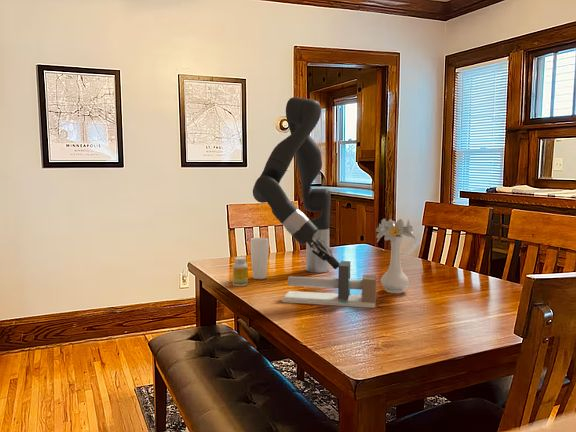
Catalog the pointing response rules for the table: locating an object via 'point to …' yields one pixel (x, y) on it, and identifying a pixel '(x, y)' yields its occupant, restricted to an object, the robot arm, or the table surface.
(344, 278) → the collar
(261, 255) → the drinking glass
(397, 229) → the flower vase
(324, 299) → the pipe stand
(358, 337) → the table surface
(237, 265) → the supplement bottle
